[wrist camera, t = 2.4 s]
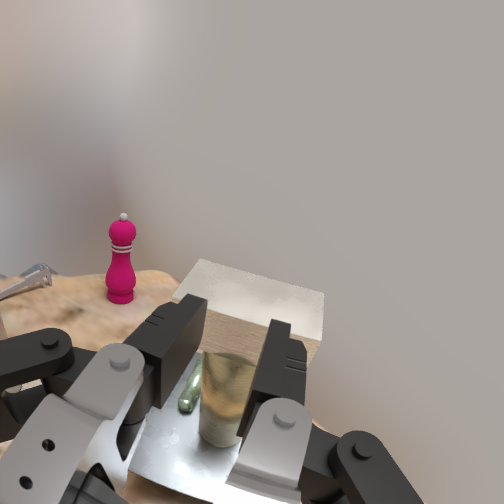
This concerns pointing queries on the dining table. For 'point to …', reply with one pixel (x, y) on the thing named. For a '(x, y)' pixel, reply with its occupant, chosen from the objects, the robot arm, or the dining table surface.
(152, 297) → the dining table surface
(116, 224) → the pepper mill
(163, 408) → the brushed metal stamp
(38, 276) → the caliper
